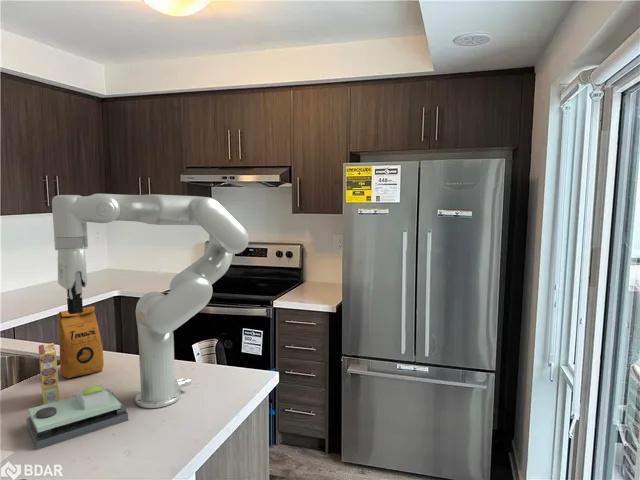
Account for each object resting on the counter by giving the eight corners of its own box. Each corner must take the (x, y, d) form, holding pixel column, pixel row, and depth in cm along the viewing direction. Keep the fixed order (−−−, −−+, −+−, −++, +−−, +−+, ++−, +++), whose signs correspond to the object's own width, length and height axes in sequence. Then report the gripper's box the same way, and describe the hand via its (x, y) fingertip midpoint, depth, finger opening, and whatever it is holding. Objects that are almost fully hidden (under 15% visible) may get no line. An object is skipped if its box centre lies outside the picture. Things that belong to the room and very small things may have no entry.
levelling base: (111, 401, 133) (111, 390, 132) (128, 420, 122) (127, 408, 122) (26, 425, 119) (25, 414, 119) (37, 449, 109) (36, 437, 108)
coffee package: (106, 373, 152) (103, 308, 150) (64, 382, 145) (59, 315, 142) (99, 363, 160) (96, 302, 157) (58, 372, 153) (54, 307, 150)
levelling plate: (108, 391, 131) (107, 374, 130) (122, 407, 122) (121, 388, 121) (28, 413, 118) (27, 394, 118) (37, 432, 109) (36, 412, 109)
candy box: (60, 403, 132) (56, 351, 130) (43, 406, 129) (39, 354, 127) (57, 391, 139) (54, 342, 137) (41, 394, 137) (37, 345, 135)
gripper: (48, 241, 121) (52, 309, 123) (62, 247, 110) (66, 322, 112) (79, 239, 126) (83, 304, 128) (95, 245, 115) (99, 316, 117)
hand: (75, 312), depth 120 cm, fingers closed
